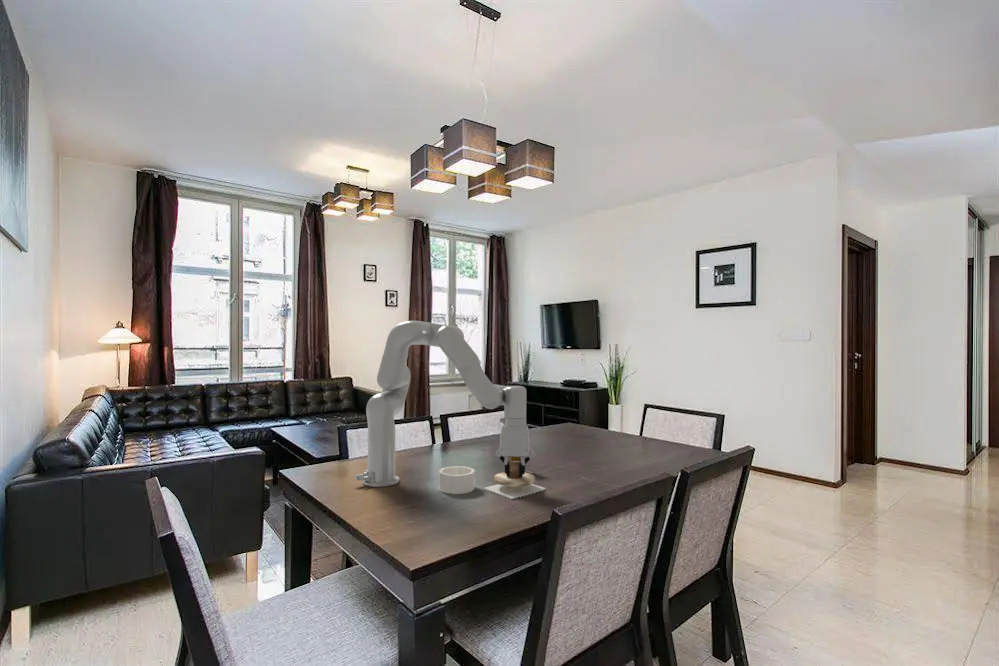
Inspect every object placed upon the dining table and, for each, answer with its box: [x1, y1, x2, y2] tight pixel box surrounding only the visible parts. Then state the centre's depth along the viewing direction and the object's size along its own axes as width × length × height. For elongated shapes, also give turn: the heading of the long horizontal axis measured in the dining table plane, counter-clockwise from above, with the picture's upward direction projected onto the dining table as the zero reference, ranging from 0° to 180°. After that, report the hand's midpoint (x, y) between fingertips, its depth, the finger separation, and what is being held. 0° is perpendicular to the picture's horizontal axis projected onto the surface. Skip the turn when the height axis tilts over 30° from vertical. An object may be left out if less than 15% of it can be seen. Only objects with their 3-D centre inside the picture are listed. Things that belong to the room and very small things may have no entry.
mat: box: [482, 483, 547, 500], centre depth 171 cm, size 16×14×1 cm
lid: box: [493, 460, 536, 487], centre depth 171 cm, size 14×14×6 cm
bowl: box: [438, 465, 476, 495], centre depth 172 cm, size 12×12×6 cm
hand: (514, 475), depth 171 cm, fingers closed on lid, 4 cm apart
